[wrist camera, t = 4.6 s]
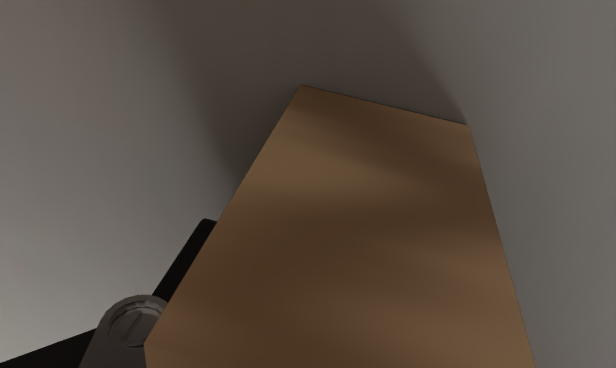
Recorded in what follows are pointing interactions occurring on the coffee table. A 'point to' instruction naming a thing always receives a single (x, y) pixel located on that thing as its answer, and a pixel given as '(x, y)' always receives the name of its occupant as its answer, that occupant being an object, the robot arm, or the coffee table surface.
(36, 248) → the coffee table surface
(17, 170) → the coffee table surface
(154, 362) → the block
